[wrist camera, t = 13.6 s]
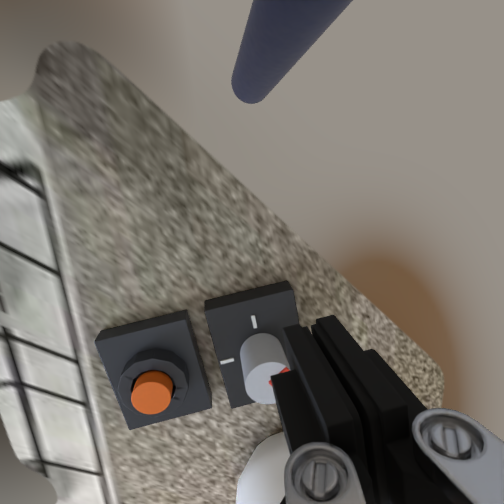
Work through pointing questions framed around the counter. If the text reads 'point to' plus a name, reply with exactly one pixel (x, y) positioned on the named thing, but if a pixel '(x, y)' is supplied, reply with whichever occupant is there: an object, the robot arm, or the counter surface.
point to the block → (155, 365)
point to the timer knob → (262, 366)
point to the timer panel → (247, 328)
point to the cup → (264, 473)
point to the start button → (152, 392)
